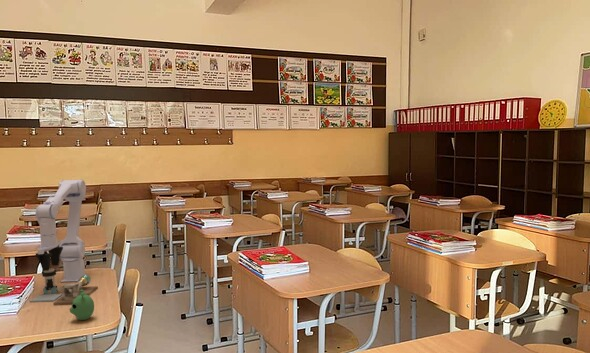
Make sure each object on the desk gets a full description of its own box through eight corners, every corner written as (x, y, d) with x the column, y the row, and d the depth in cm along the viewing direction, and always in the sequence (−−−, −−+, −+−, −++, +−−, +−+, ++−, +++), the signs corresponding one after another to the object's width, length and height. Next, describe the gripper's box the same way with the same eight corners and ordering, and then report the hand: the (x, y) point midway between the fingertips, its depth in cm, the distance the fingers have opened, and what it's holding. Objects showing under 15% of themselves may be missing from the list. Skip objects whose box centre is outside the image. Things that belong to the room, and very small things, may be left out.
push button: (62, 290, 198) (61, 266, 197) (60, 294, 193) (58, 269, 192) (44, 292, 196) (43, 268, 195) (41, 296, 191) (39, 271, 190)
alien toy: (69, 318, 165) (67, 290, 165) (94, 314, 169) (92, 286, 168) (70, 325, 159) (68, 295, 158) (96, 320, 163) (94, 291, 162)
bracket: (75, 289, 199) (74, 274, 198) (97, 288, 199) (96, 274, 198) (53, 305, 180) (52, 289, 179) (77, 304, 180) (76, 288, 179)
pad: (39, 296, 191) (39, 294, 191) (62, 295, 191) (62, 293, 191) (30, 302, 184) (30, 300, 184) (53, 301, 184) (53, 299, 184)
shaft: (81, 284, 198) (80, 275, 198) (91, 284, 198) (90, 274, 198) (64, 296, 184) (64, 285, 183) (75, 295, 184) (74, 285, 183)
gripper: (47, 231, 200) (49, 263, 201) (28, 238, 185) (31, 273, 186) (64, 230, 200) (66, 262, 201) (47, 237, 185) (49, 272, 186)
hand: (50, 267), depth 194 cm, fingers open, 7 cm apart
